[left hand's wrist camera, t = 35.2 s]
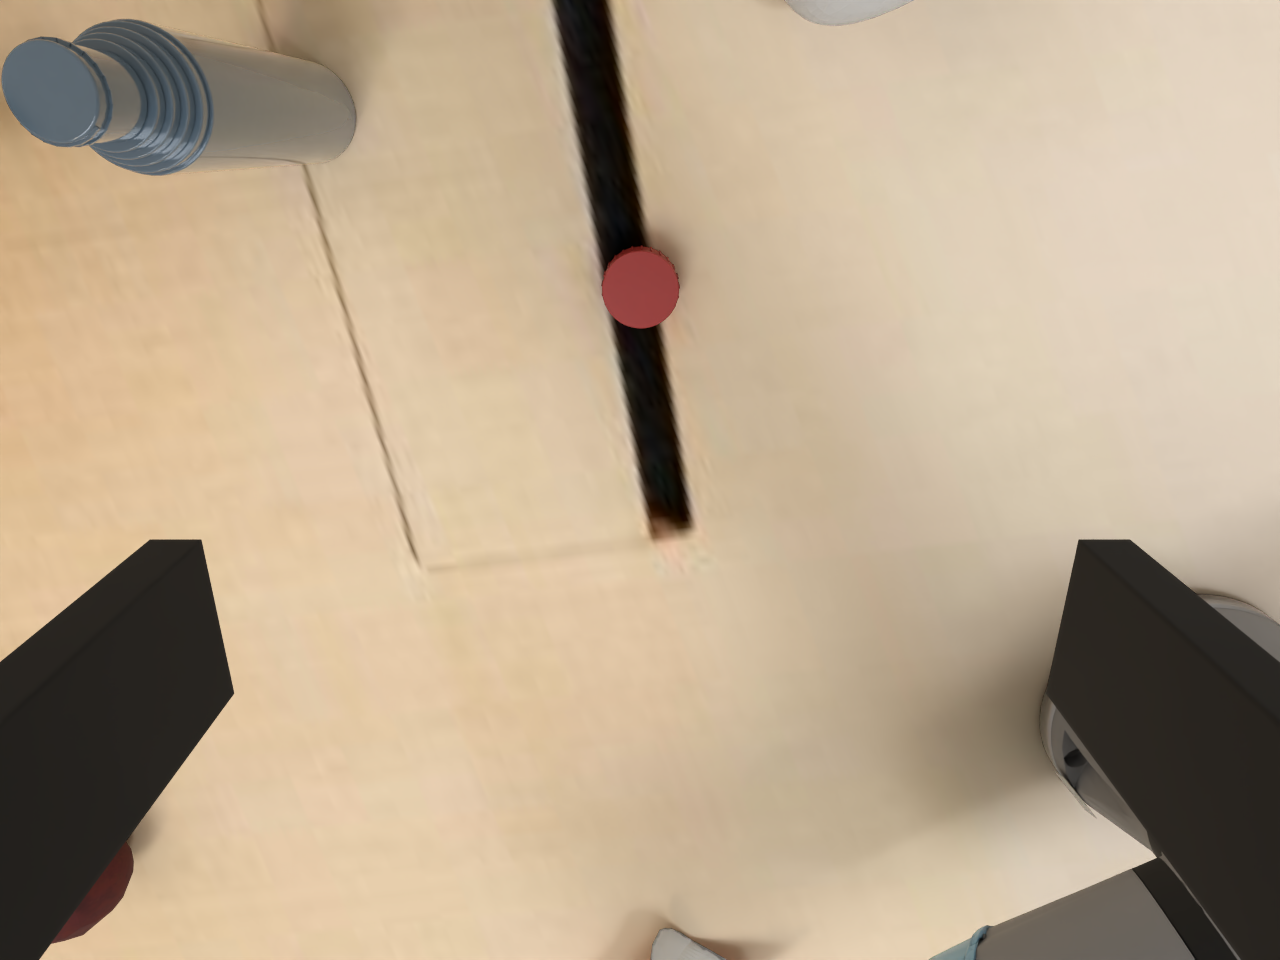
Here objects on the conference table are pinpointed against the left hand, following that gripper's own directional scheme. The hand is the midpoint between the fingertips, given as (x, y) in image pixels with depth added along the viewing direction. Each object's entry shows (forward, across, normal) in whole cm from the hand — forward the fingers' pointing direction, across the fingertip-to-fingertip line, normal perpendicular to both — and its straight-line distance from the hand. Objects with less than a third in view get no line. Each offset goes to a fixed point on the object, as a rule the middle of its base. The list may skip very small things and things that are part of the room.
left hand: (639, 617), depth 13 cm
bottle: (+32, +16, -8) cm, 36 cm away
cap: (+30, 0, 0) cm, 30 cm away
